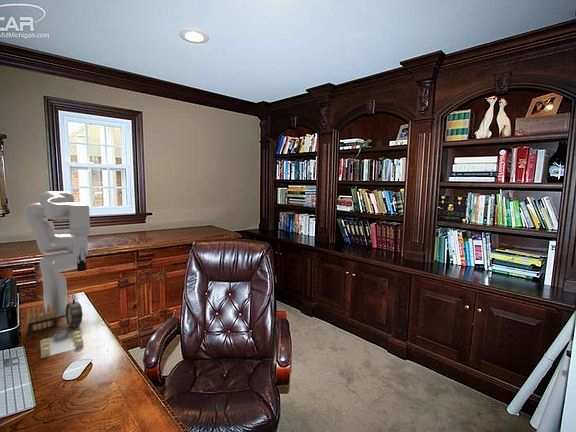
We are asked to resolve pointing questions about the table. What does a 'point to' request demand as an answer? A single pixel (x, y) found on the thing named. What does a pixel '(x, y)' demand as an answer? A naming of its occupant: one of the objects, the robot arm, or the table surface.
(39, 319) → the ammunition clip
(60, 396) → the table surface
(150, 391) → the table surface
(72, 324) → the alarm clock
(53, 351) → the spacer board
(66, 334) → the grey faceted block
